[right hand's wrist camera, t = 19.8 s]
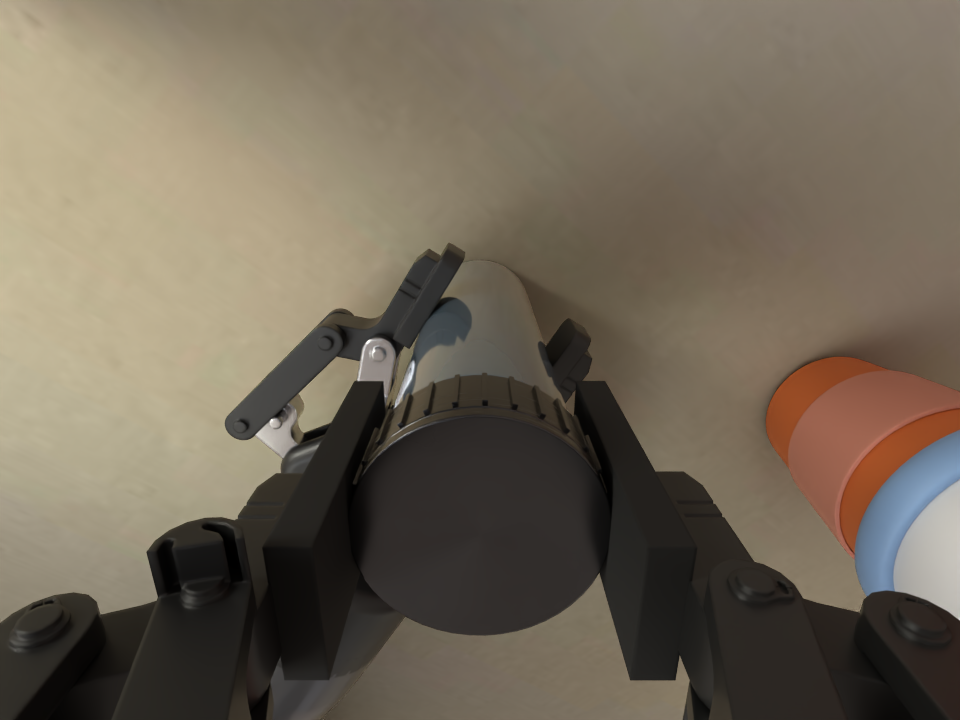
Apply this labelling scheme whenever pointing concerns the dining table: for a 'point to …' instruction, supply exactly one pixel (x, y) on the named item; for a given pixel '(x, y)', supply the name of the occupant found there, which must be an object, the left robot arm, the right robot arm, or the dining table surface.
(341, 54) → the dining table surface
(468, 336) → the blue-gray bottle
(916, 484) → the cup with straw
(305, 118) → the dining table surface
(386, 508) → the lid
